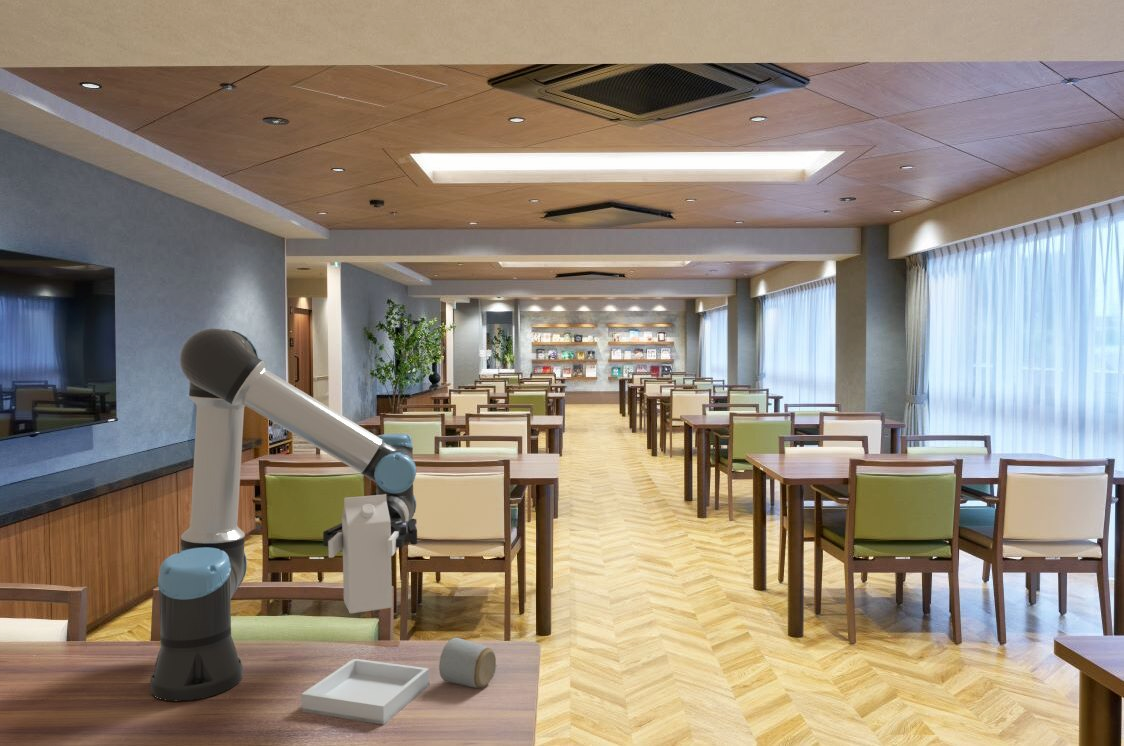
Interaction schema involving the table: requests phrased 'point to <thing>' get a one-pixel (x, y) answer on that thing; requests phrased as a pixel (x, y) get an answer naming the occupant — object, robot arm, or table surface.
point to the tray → (366, 691)
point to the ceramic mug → (467, 663)
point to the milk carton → (366, 553)
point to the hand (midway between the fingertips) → (360, 548)
